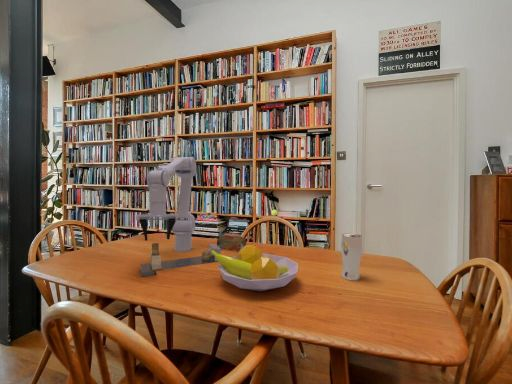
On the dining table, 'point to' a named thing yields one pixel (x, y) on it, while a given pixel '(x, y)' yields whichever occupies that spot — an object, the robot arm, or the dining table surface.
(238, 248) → the tin
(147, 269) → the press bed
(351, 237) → the beer glass
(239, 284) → the fruit bowl
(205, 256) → the walnut
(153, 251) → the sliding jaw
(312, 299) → the dining table surface
